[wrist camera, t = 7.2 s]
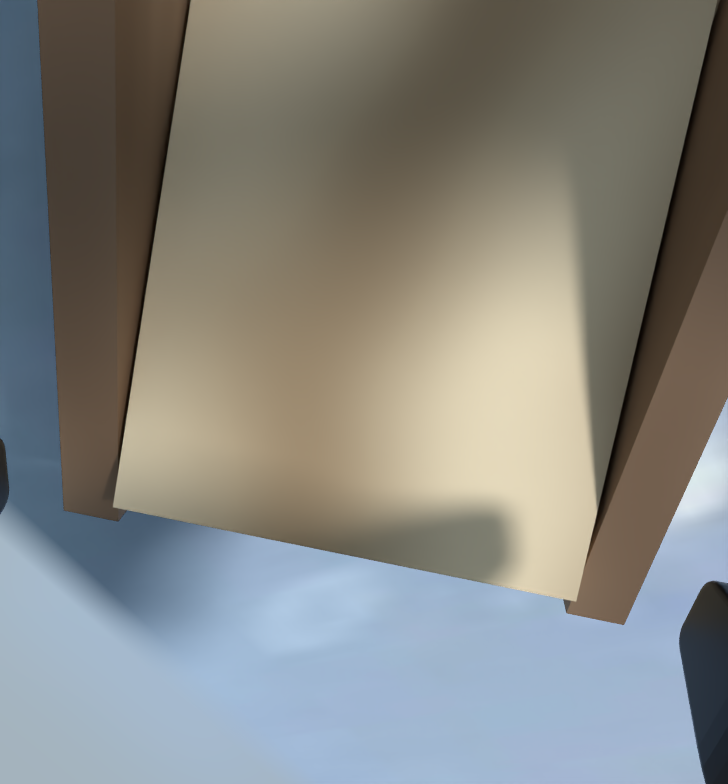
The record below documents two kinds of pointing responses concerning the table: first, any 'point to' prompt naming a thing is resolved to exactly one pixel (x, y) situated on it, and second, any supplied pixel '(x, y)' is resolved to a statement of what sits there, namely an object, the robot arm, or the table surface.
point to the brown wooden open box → (393, 274)
